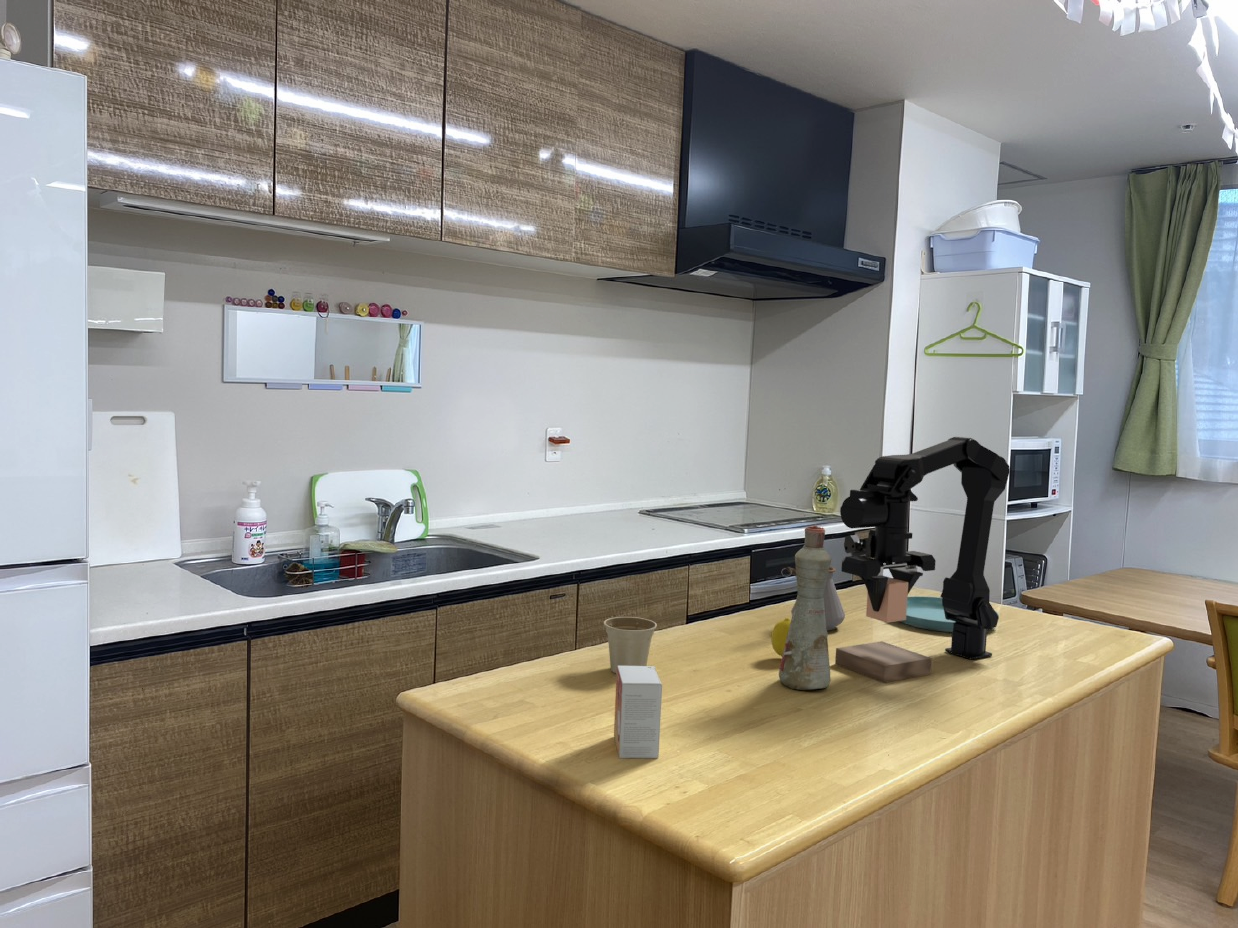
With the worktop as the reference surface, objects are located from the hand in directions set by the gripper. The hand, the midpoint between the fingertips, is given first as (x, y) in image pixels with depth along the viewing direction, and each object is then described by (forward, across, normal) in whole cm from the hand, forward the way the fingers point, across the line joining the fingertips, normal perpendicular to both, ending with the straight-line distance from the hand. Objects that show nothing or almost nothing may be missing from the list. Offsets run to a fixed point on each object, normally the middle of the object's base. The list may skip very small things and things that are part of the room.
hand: (886, 609), depth 166 cm
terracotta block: (+2, 0, 0) cm, 2 cm away
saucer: (+12, -41, -21) cm, 47 cm away
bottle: (+11, +20, +1) cm, 23 cm away
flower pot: (+11, +44, -18) cm, 49 cm away
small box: (+11, +61, +12) cm, 63 cm away
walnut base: (+11, 0, 0) cm, 11 cm away
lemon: (+11, +13, -12) cm, 21 cm away
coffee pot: (+11, -6, -27) cm, 30 cm away
